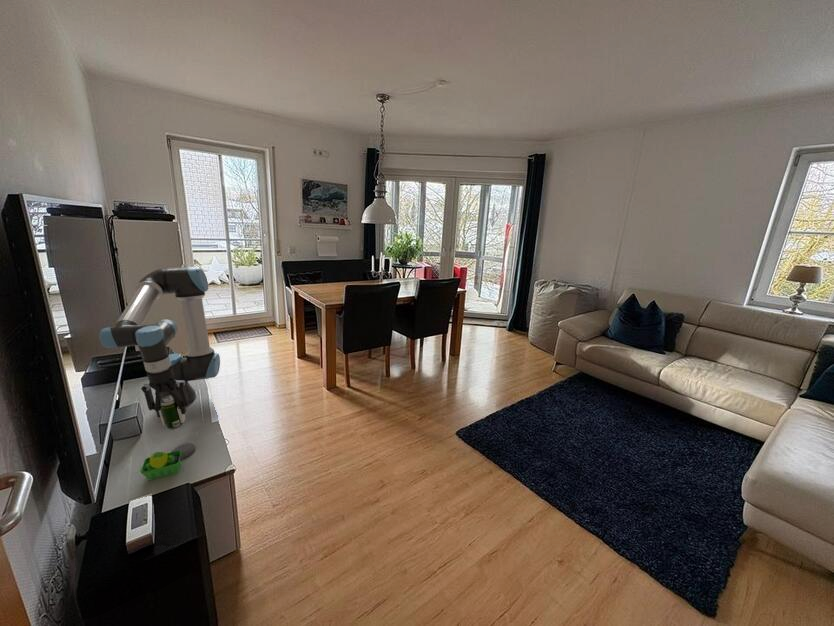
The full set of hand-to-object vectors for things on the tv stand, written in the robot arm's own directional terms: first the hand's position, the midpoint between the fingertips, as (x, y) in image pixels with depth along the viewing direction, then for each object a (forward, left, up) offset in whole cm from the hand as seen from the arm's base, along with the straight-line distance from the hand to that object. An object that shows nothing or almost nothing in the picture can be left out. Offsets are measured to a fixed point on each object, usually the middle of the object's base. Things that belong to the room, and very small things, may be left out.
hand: (174, 421), depth 132 cm
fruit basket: (+10, -3, -15) cm, 18 cm away
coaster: (0, 0, -15) cm, 15 cm away
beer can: (0, 0, -2) cm, 2 cm away
